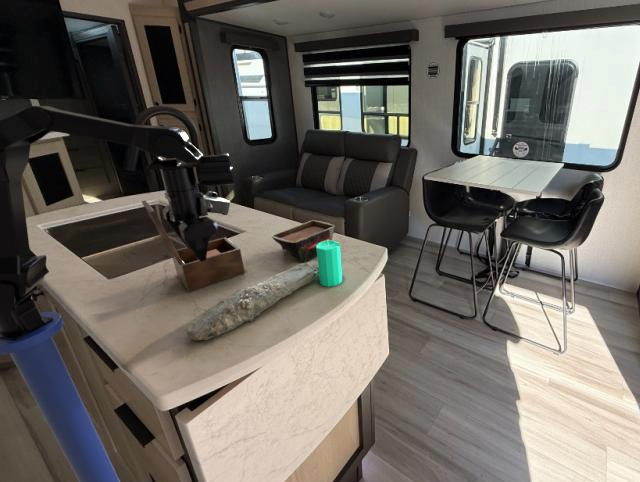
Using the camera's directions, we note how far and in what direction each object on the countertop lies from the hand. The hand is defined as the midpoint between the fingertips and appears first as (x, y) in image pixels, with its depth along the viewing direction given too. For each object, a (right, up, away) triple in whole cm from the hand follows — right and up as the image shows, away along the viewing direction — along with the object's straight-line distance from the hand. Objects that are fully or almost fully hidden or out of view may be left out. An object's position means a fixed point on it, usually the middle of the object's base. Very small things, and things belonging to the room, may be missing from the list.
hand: (196, 254), depth 73 cm
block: (-5, -6, +15) cm, 17 cm away
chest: (-5, -7, +15) cm, 17 cm away
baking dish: (+17, -2, +28) cm, 33 cm away
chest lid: (-11, +5, +4) cm, 13 cm away
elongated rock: (+15, -12, +3) cm, 19 cm away
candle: (+28, -8, +12) cm, 32 cm away
